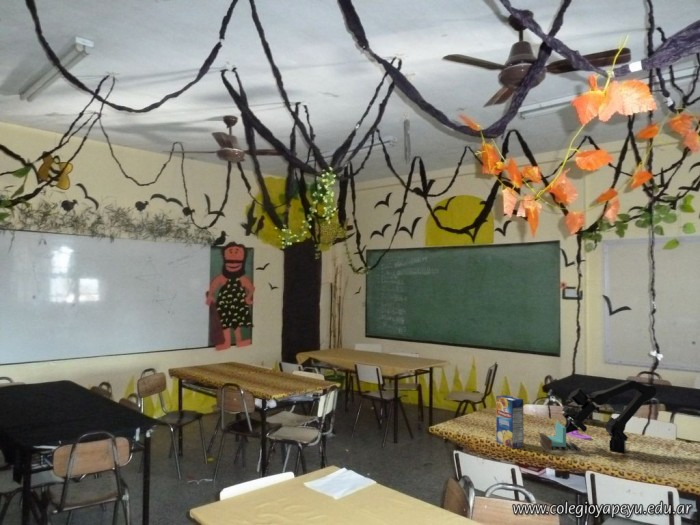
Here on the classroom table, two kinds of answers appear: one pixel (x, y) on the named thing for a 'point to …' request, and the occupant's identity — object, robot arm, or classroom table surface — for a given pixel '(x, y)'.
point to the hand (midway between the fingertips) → (562, 433)
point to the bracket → (578, 435)
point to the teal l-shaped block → (559, 436)
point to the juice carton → (509, 421)
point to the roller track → (547, 446)
